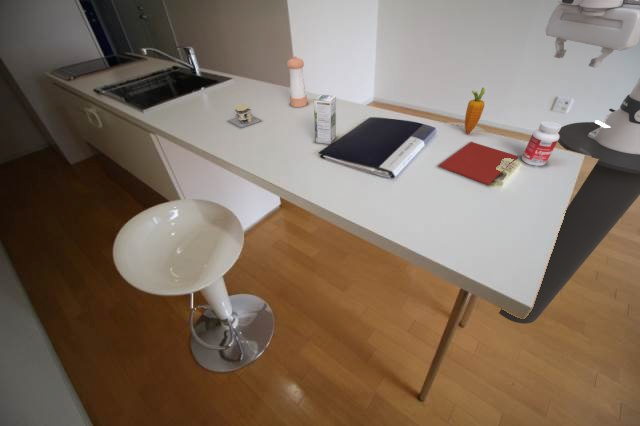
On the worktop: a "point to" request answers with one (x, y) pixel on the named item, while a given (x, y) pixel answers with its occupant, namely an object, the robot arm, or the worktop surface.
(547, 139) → the pill bottle
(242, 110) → the stacked layers on plate
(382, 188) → the worktop surface
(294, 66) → the pepper shaker
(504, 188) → the worktop surface
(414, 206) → the worktop surface
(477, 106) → the carrot
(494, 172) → the red pad
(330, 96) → the syrup box
